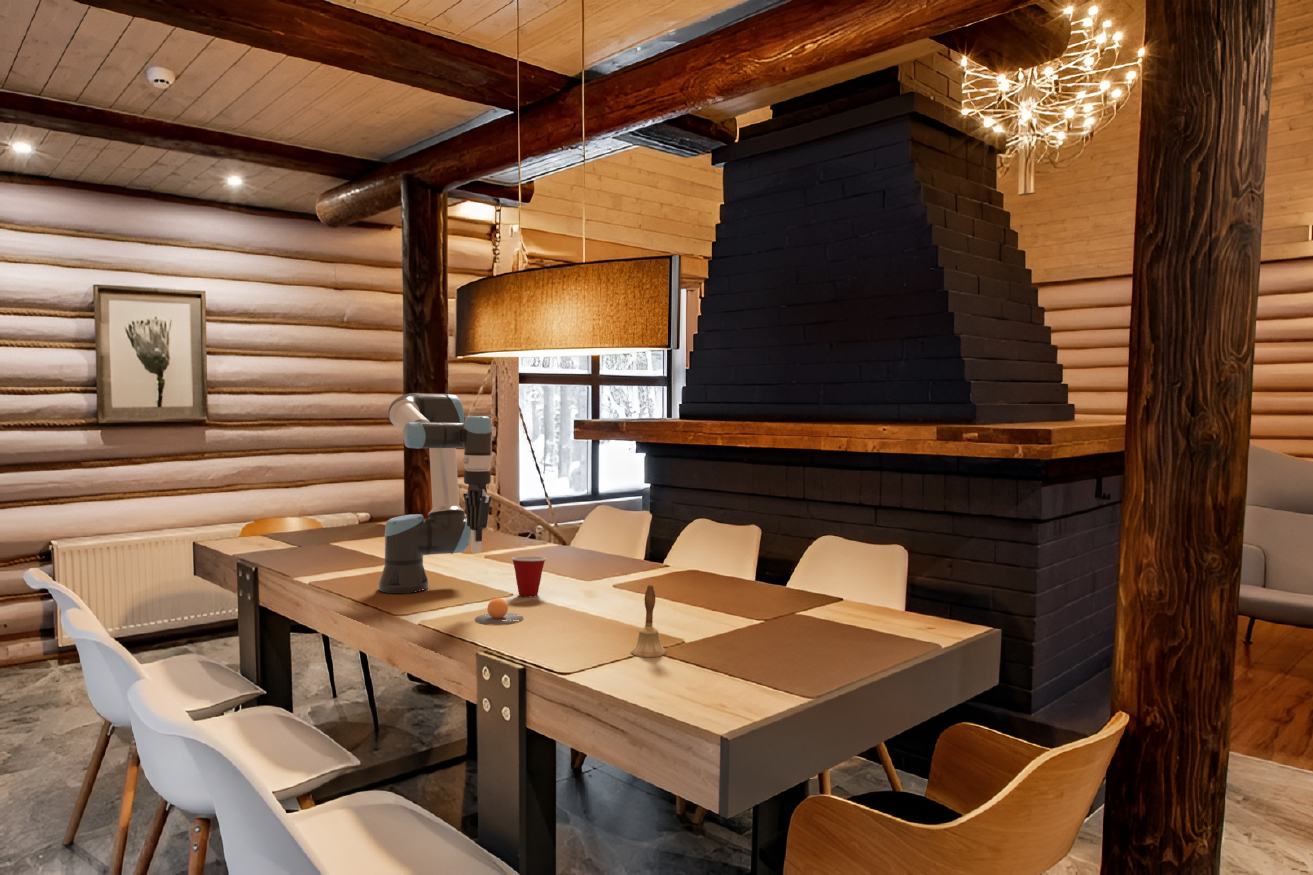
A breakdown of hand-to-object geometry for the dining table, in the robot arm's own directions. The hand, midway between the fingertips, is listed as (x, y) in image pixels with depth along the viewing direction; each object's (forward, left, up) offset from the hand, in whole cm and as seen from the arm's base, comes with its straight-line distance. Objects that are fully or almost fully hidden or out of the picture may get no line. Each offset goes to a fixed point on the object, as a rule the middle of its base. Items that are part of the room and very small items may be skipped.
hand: (476, 552), depth 232 cm
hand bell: (+63, +13, -17) cm, 66 cm away
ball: (+13, 0, -14) cm, 19 cm away
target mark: (+14, 0, -16) cm, 22 cm away
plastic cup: (-8, +22, -17) cm, 29 cm away
